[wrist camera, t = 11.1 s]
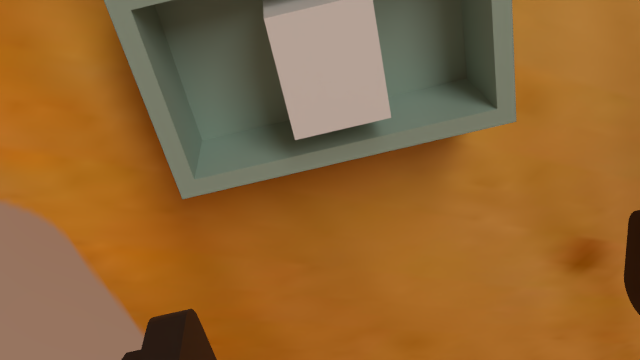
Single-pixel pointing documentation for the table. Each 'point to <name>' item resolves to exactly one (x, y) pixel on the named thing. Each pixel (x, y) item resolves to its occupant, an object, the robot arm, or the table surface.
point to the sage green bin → (267, 97)
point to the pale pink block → (327, 63)
